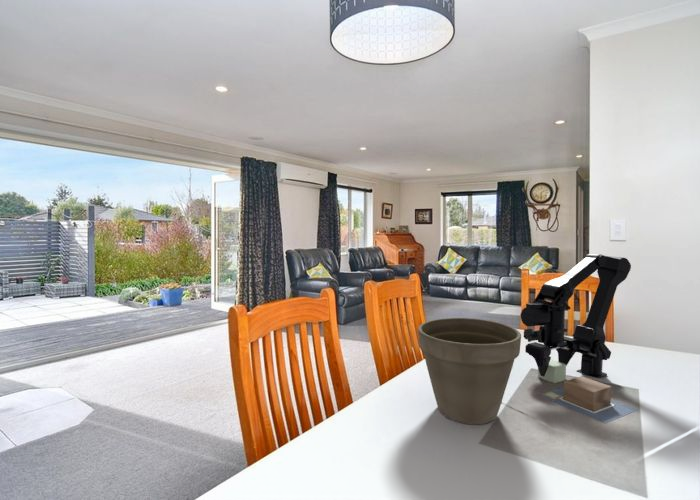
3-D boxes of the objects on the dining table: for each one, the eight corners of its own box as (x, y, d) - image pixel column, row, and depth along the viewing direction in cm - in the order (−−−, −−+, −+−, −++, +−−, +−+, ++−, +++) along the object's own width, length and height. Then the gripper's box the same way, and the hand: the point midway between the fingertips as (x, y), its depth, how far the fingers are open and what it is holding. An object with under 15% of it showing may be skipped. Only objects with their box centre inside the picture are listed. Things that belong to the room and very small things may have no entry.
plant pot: (446, 443, 87) (448, 346, 85) (402, 396, 110) (403, 320, 109) (541, 428, 93) (544, 338, 92) (480, 387, 117) (482, 315, 116)
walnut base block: (580, 393, 112) (581, 376, 112) (610, 404, 105) (611, 386, 105) (563, 399, 108) (563, 381, 108) (592, 411, 101) (593, 392, 101)
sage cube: (549, 375, 127) (549, 358, 126) (565, 381, 122) (566, 364, 122) (537, 378, 124) (538, 361, 124) (554, 385, 119) (554, 367, 119)
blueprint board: (571, 386, 118) (571, 384, 118) (638, 411, 102) (638, 408, 102) (538, 396, 111) (538, 394, 111) (605, 425, 95) (605, 422, 95)
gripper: (549, 315, 134) (547, 360, 134) (511, 321, 125) (509, 370, 126) (581, 322, 124) (579, 371, 125) (543, 330, 115) (541, 382, 116)
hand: (551, 373), depth 123 cm, fingers open, 9 cm apart
